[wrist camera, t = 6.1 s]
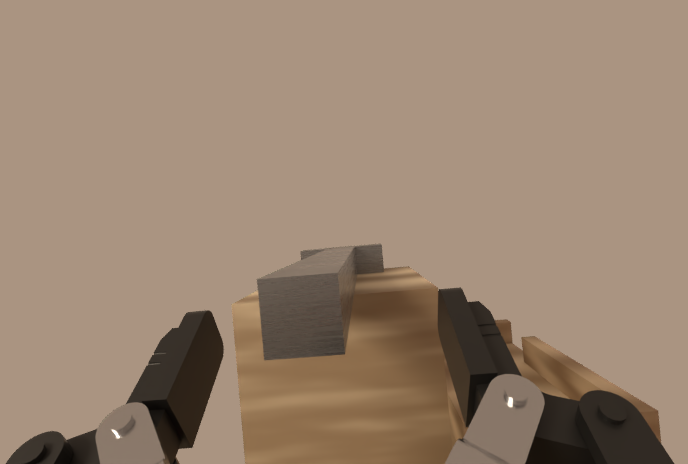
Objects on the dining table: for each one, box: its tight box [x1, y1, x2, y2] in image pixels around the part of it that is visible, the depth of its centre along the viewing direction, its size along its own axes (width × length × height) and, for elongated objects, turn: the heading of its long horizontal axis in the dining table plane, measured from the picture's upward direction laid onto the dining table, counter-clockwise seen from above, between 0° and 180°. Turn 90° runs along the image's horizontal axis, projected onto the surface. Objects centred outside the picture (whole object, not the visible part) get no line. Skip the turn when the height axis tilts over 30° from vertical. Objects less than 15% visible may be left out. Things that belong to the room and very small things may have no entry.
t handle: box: [257, 244, 384, 360], centre depth 23 cm, size 24×7×2 cm, turn 177°
